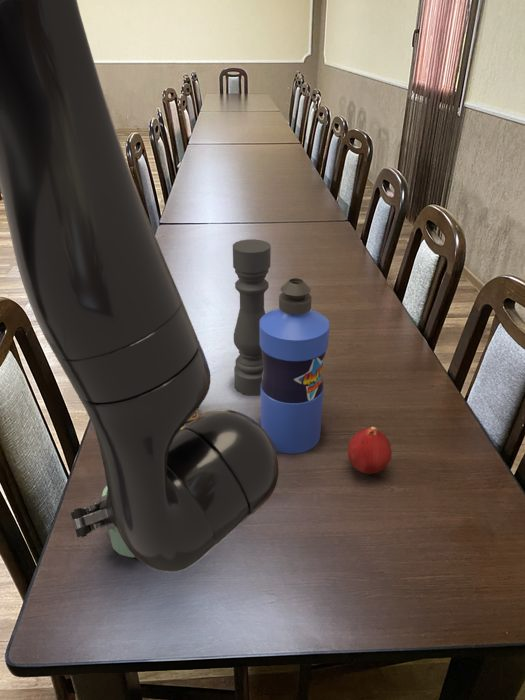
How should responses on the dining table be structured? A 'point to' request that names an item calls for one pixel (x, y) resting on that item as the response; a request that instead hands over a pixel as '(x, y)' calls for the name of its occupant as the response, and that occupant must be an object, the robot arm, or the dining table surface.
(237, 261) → the candle holder
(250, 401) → the dining table surface
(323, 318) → the water bottle
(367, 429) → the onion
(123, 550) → the green cup
